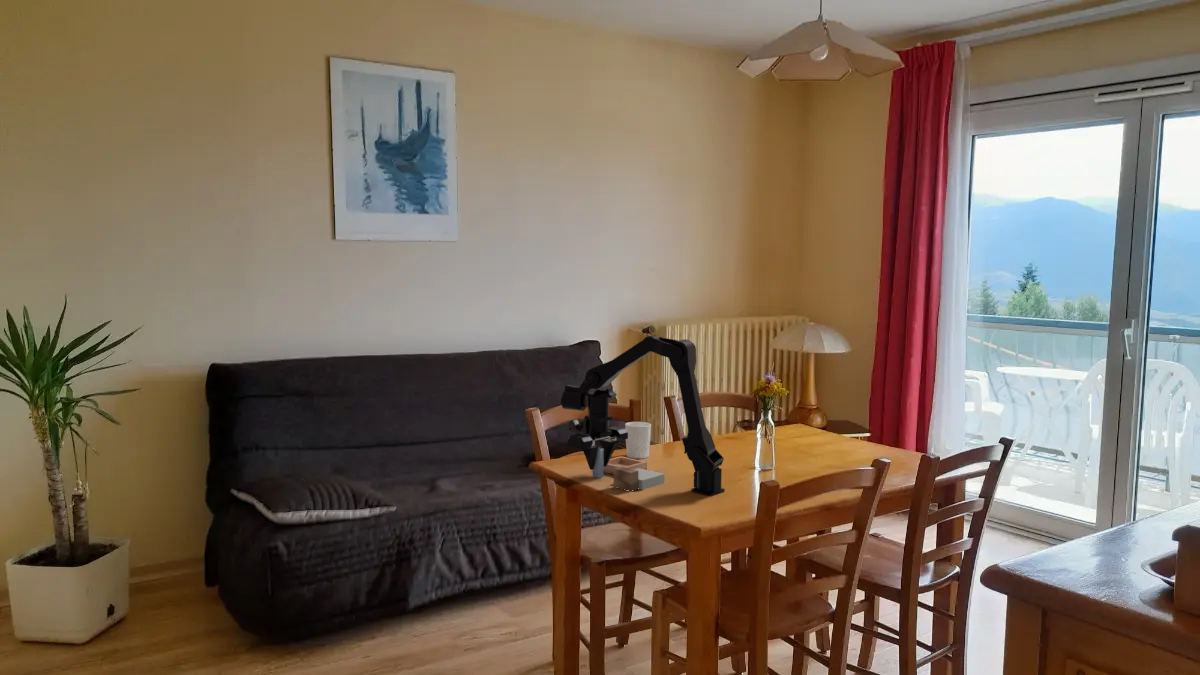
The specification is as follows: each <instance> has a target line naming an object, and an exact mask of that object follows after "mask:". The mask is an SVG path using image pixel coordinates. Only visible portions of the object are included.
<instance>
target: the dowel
mask: <svg viewBox="0 0 1200 675" xmlns="http://www.w3.org/2000/svg"><path fill="white" fill-rule="evenodd" d="M597 447H598V451H597V456H596V462H595V466H594V469H593V470H592V478H593V479H603V478H604V472H603V471H604V448H602V446H597ZM602 477H603V478H602Z"/></svg>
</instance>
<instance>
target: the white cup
mask: <svg viewBox="0 0 1200 675" xmlns="http://www.w3.org/2000/svg"><path fill="white" fill-rule="evenodd" d="M624 426H625V427H624V428H625V429H626V430H627V432H628V439H625V445H626V456H627V458H631V459H635V460H639V459H647V458H649V457H650V447H651V446H650V445H651V432H652V423H650V422H644V421H630V422H625V423H624Z"/></svg>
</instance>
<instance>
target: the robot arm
mask: <svg viewBox="0 0 1200 675" xmlns="http://www.w3.org/2000/svg"><path fill="white" fill-rule="evenodd" d="M651 353H655V354H657V355H659V356H661V357H665V358H668V361H669V364H670V366H671V368H672V370H673V371H674V373H675V374H676V376H677V379H678V384H679V385H678V387H679V390H680V395H681V400H682V405H683V410H684V415H685V420H686V425H687V435H685V436H684V437H682V438H681V440H682V444H683V447H684V455H686V456H687V458H688V460H689V461H691V463H692V467H693V469H694V471H693V488H691V489H690V491H692V492H695V493H698V494H702V495H707V496H713V495H717V494H720V493H722V492H725V491H726V490H725V488H723V487H722V470H723V468H720V467H721V466H722V465H723V462H724V456H723V455H722V454H721V453H720V452H719V451H718V450H717V448H716V445H715V441H714V439H713V436H712V434H711V432H710V431H709V430H708V428H707V426H706V423H705V419H704V413H703V408H702V403H701V398H700V392H699V387H698V383H697V378H696V365H697V364H696V363H697V348H696V345H695V343H694V342H692V341H691V340H689V339H687V338H686V339H684V338H683V339H680V340H678V339H673V338H667V337H661V336H658V335H653V334H651V335H647V336H645V337H644V338H643V339H642V340H640V341H639V342H638V343H636V344H635V345H632V347H630V348H629V349H627V350H625V351H624V352H622V353H620V354H619V355H617V356H616V357H615V358H613V359H612V360H610V361H607V362H604V363H602V364H598V365H596V366H594V367H592V368H590V369H588V370H587V371H586V372H585V378H584V380H583V381H582V383H581V384H580V386H579V385H572V384H566V385H565V386H564V391H563V393H562V395H561V397H560V398H561V399H560V404H561V408H562V409H563V410H568V411H569V410H570V411H571V410H572V411H583V412H584V411H585V410H586V408H587V415H584V419H583V421H578V419H572V420H569V421H568V431H569V433H573V434H571V435H569V436H568V438H567V447H570V448H571V447H572V448H576V449H580V450H581V451H583V455H584V456H585V459H586V462H587V464H588V467H589V468H588V469H589V470H591V471H593V469H594V466H595V462H596V456H597V451H598V447H599V446H597V445H596V442H599V445H600V447H601V448H604V466H605V467H606V466H607V464H608V462H609V460H610V459H612V456H613V453H614V451H615V450H616V448H617V447H618V445H619V444H620V443H621V441H623V440H624V441H625V440H626V439H628V432H627V430H626V429H625V427H619V426H609V425H610V421H612V420H613V416H612V415H610V399H612V398H615V397H617V394H618V393H616V392H615V391H614V390H613V388H611V387H608V388H605V389H606V390H605V389H600V388H604V387H607V386H609V385H610V384H611V383H612V382H613V381H615V379H617V378H618V377H619V375H620V374H621V373H622V372H623V371H624V370H626V369H628V368H629V367H630V366H632V365H634V364H635V363H636V362H638V361H640V360H642V359H643V358H645V357H646V356H647V355H649V354H651ZM593 390H595V391H594V392H591V391H593ZM617 437H618V439H619V440H620V441H619V440H617Z"/></svg>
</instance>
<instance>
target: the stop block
mask: <svg viewBox="0 0 1200 675" xmlns="http://www.w3.org/2000/svg"><path fill="white" fill-rule="evenodd" d="M615 487H618V488H617V489H619V488H622V489H625V490H624V491H626V490H629V491H628V492H630V491H631V492H633V491H632V490H635V491H637V490H636V489H638V470H633V469H629V468H625V467H618V468H614V474H613V488H615ZM622 489H621V490H622ZM638 490H639V489H638Z"/></svg>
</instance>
